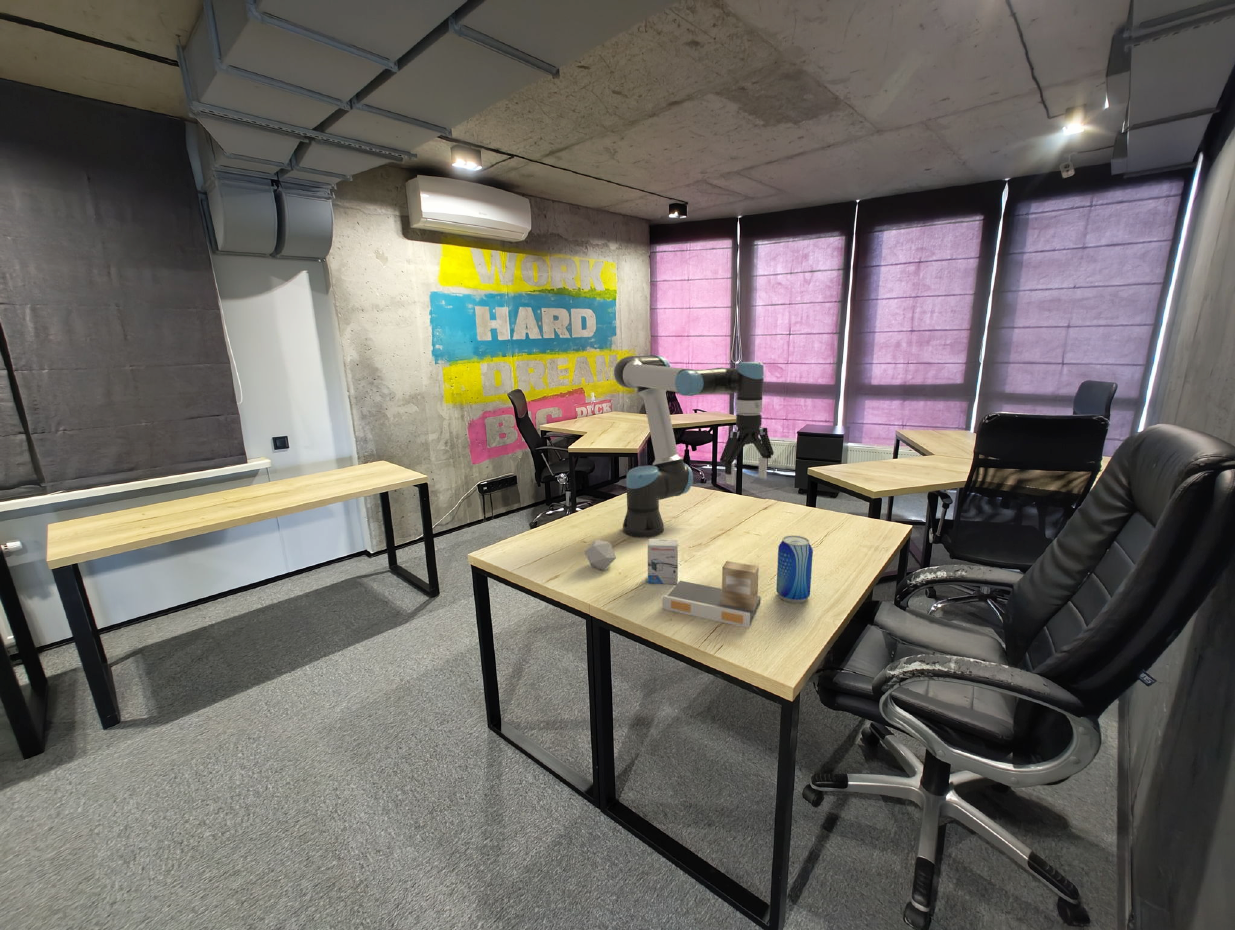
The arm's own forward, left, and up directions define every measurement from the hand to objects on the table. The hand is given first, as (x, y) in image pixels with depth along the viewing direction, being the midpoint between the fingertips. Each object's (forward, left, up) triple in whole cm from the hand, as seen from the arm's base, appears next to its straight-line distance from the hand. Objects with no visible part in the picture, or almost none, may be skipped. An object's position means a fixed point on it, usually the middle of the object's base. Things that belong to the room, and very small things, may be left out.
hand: (746, 481), depth 155 cm
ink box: (-16, -30, -24) cm, 42 cm away
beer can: (+19, -25, -24) cm, 39 cm away
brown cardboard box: (+8, -38, -22) cm, 44 cm away
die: (-37, -29, -24) cm, 53 cm away
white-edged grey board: (+1, -38, -24) cm, 45 cm away
